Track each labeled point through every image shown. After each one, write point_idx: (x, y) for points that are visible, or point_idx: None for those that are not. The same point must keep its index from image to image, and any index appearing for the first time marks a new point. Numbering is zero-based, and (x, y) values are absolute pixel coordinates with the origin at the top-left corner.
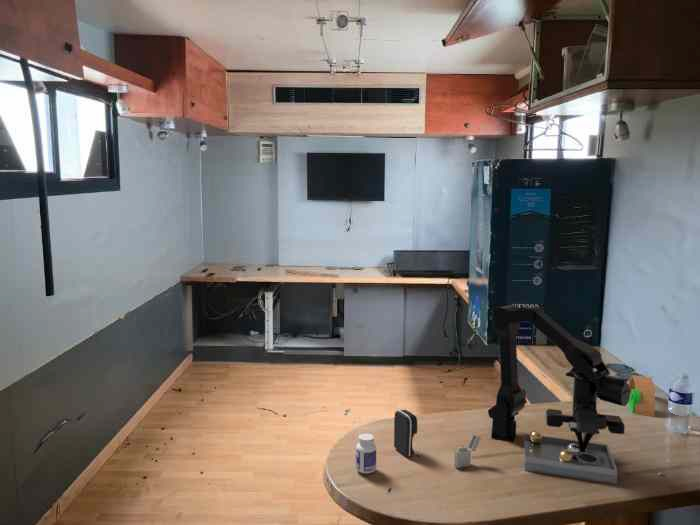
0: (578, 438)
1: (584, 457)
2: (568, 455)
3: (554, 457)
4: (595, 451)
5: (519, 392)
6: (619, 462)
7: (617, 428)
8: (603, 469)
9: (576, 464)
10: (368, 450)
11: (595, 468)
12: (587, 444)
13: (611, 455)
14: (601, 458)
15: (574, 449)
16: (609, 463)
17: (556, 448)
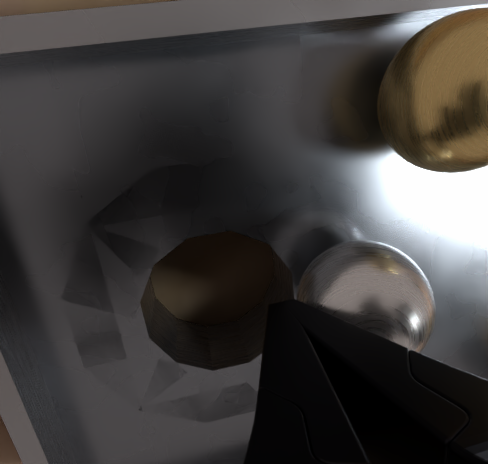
0: (450, 376)
1: (239, 344)
2: (483, 25)
3: (483, 173)
4: (165, 442)
5: None
6: (8, 442)
7: None
8: (26, 15)
9: (343, 1)
10: None
11: (126, 11)
12: (263, 362)
13: (1, 408)
14: (106, 355)
15: (379, 266)
16: (24, 299)
17: (445, 336)
